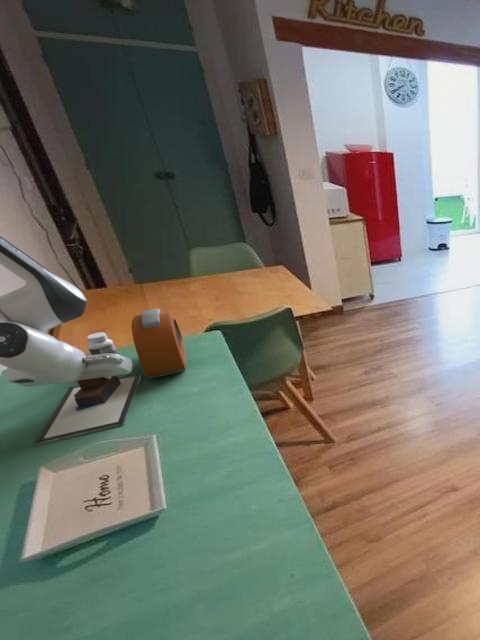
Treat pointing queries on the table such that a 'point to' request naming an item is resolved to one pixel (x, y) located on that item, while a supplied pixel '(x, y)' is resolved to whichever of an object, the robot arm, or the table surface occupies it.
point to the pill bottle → (100, 344)
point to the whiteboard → (90, 413)
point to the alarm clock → (158, 343)
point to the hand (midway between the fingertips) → (95, 378)
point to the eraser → (95, 390)
